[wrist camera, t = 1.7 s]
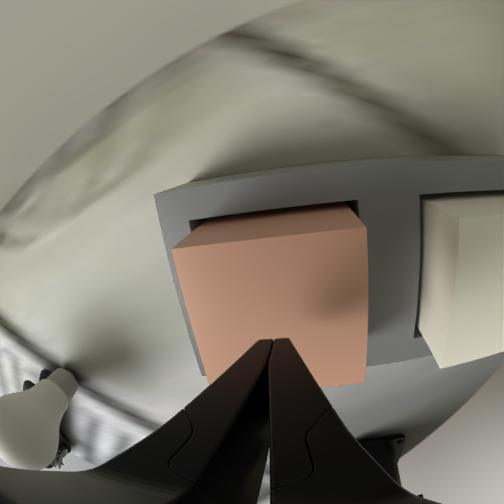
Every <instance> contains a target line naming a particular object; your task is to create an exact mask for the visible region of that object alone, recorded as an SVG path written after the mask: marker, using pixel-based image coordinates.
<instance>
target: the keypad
mask: <svg viewBox="0 0 504 504" xmlns="http://www.w3.org/2000/svg"><path fill="white" fill-rule="evenodd" d="M487 190H504V156H492V155H438V156H408V157H389V158H373V159H360V160H348V161H337V162H327V163H317V164H308V165H299V166H291V167H283V168H275V169H268V170H261V171H254V172H247V173H241V174H234V175H228V176H222V177H216V178H210V179H205V180H199V181H194V182H188V183H185V184H183V185H180V186H177V187H174V188H171V189H168V190H165V191H163V192H160V193H157V194H154V198H155V202H156V207H157V212H158V217H159V221H160V226H161V230H162V234H163V239H164V243H165V247H166V251H167V256H168V260H169V264H170V268H171V272H172V275H173V279H174V283H175V287H176V291H177V294H178V298H179V302H180V305H181V309H182V312H183V316H184V319H185V323H186V326H187V329H188V333H189V336H190V339H191V343H192V346H193V349H194V352H195V355H196V359H197V362H198V365H199V368H200V371H201V374H202V376H207V375H206V372H205V369H204V366H203V363H202V360H201V356H200V353H199V350H198V347H197V343H196V340H195V336H194V333H193V330H192V326H191V323H190V319H189V316H188V312H187V308H186V305H185V301H184V297H183V294H182V290H181V286H180V282H179V278H178V274H177V270H176V266H175V262H174V258H173V254H172V250H171V249H172V248H173V247H174V246H176V245H177V244H178V243H179V242H180V241H182V240H183V239H184V238H185V237H186V236H187V235H189V234H190V233H191V232H192V231H193V230H195V229H196V228H197V227H198V226H200V225H201V224H202V223H203V222H204V221H206V220H207V219H208V218H209V217H216V216H223V215H230V214H238V213H245V212H253V211H261V210H269V209H277V208H285V207H294V206H302V205H311V204H320V203H330V202H340V201H344V202H345V203H346V204H347V205H348V207H349V208H350V209H351V210H352V211H353V212H354V213H355V214H356V216H357V217H358V218H359V219H360V220H361V221H362V222H363V224H364V225H365V226H366V228H367V249H368V337H367V357H366V366H373V365H380V364H386V363H393V362H399V361H404V360H410V359H415V358H420V357H426V356H430V355H433V354H432V352H431V350H430V348H429V347H428V345H427V343H426V341H425V339H424V338H423V336H422V334H421V332H420V331H419V329H418V327H417V325H416V324H415V321H416V312H417V301H418V287H419V270H420V197H419V195H420V194H434V193H449V192H467V191H487Z"/></svg>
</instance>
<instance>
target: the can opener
mask: <svg viewBox="0 0 504 504" xmlns="http://www.w3.org/2000/svg"><path fill="white" fill-rule="evenodd" d="M50 375H51V374H50V373H49V372H47V371H45V370H42V371H41V373H40V377H39V381H40V380H42V379H46V378H47V377H48V376H50ZM33 386H35V384H34V383H32V382H31V381H29V380H26V381H25V382H24V385H23V391H25V390H28V389H30V388H32V387H33ZM70 451H71V446H70V445H69V443H68V441H67V440H66V439H65V438H64V436H63V435H62V434H61V433H60V432H59V443H58V450H57V453H56V456H55V458H54V460H53V461H52V463H50V464H49V465H48V466H47V467H45V468H52V467H53V466H54V467H56V466H57V465H58V468H59V469H60V467H61V465H64V464H63V463H62V458H63V457H65V455H66V454H67V453H69V452H70Z"/></svg>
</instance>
